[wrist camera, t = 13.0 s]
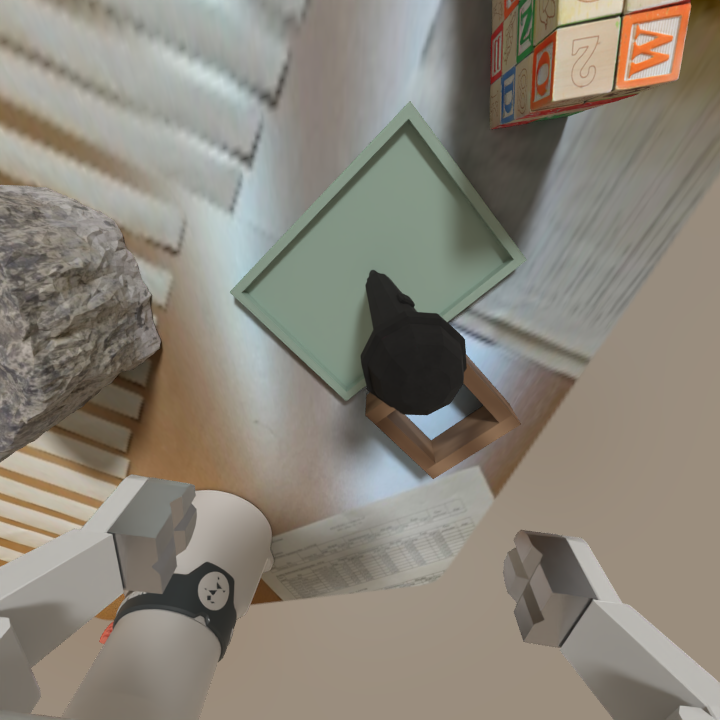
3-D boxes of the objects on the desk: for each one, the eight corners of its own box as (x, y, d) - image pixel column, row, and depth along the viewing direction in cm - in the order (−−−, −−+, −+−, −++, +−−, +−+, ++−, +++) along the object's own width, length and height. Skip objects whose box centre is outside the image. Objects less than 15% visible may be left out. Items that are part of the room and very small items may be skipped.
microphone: (412, 255, 35) (508, 360, 17) (385, 310, 37) (445, 450, 20) (358, 231, 33) (404, 319, 16) (333, 289, 35) (349, 422, 18)
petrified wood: (12, 152, 33) (-246, 132, 19) (197, 259, 36) (88, 305, 22) (-16, 324, 40) (-217, 397, 27) (140, 400, 43) (32, 499, 30)
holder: (429, 455, 45) (433, 479, 41) (366, 394, 41) (365, 415, 38) (508, 402, 41) (521, 424, 37) (446, 332, 38) (454, 348, 34)
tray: (347, 393, 41) (346, 401, 40) (235, 287, 37) (229, 292, 35) (520, 256, 34) (526, 260, 33) (408, 104, 30) (410, 100, 28)
